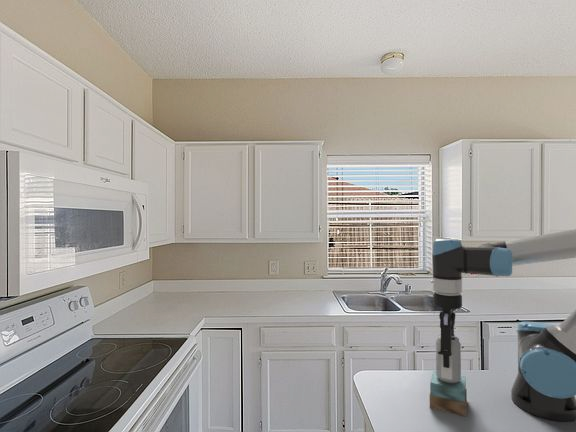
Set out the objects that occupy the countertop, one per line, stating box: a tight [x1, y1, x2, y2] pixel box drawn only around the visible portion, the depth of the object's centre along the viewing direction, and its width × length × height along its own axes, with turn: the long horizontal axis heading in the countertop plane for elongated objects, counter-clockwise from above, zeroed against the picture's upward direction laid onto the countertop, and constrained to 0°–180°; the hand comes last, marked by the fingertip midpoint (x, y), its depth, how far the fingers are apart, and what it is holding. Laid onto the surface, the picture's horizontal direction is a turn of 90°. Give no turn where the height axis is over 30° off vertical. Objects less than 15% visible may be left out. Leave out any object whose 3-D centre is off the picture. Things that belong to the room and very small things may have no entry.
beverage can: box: [435, 334, 462, 384], centre depth 95 cm, size 6×6×12 cm
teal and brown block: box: [429, 369, 468, 418], centre depth 95 cm, size 9×9×7 cm
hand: (448, 370), depth 95 cm, fingers open, 10 cm apart
